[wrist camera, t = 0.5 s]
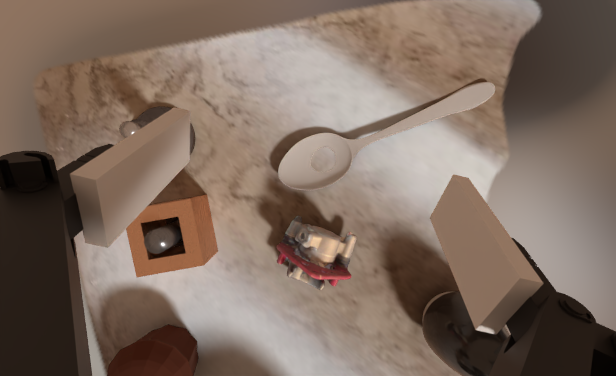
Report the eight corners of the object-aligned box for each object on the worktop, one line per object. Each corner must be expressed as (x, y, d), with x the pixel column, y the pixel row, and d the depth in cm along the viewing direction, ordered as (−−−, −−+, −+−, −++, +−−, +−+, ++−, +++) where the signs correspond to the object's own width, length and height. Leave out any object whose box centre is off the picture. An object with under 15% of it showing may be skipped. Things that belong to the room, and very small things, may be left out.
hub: (200, 162, 47) (173, 160, 37) (142, 172, 47) (98, 173, 37) (188, 103, 46) (157, 85, 36) (129, 113, 46) (82, 98, 36)
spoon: (289, 201, 48) (289, 202, 45) (269, 153, 47) (268, 153, 45) (492, 114, 49) (503, 111, 46) (475, 67, 48) (486, 61, 46)
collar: (218, 251, 48) (203, 265, 41) (160, 261, 48) (136, 277, 41) (206, 194, 47) (190, 198, 40) (148, 204, 47) (122, 210, 40)
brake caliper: (260, 284, 46) (273, 257, 36) (285, 222, 52) (301, 185, 42) (331, 311, 46) (362, 292, 36) (346, 247, 53) (377, 216, 43)
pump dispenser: (407, 340, 49) (454, 416, 34) (420, 277, 49) (474, 326, 34) (469, 350, 50) (542, 430, 34) (482, 288, 49) (563, 341, 34)
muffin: (205, 315, 48) (180, 353, 39) (210, 382, 49) (187, 436, 39) (129, 320, 48) (84, 359, 38) (135, 387, 49) (93, 443, 39)
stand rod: (195, 235, 48) (170, 251, 39) (176, 239, 48) (146, 255, 39) (191, 216, 47) (165, 228, 38) (172, 220, 47) (141, 232, 38)
